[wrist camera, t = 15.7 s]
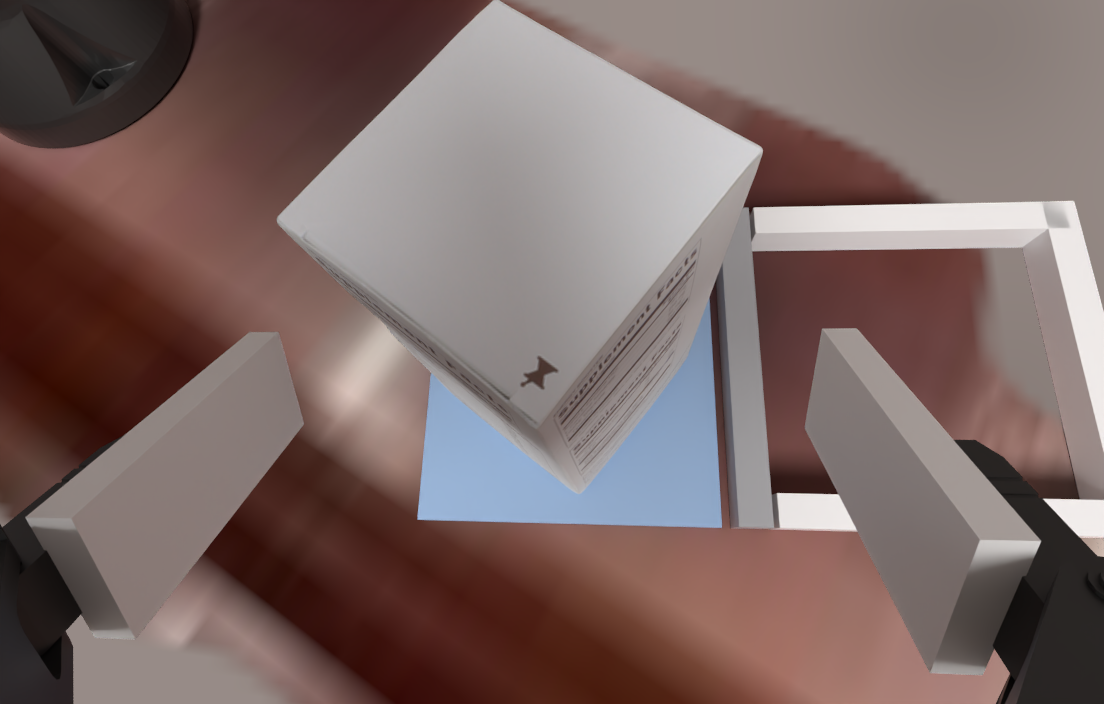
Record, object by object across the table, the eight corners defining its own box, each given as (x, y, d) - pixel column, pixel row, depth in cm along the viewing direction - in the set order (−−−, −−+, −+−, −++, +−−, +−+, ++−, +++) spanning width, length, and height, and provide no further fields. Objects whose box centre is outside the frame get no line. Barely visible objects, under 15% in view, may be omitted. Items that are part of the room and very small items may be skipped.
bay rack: (447, 231, 35) (437, 213, 33) (1046, 221, 32) (1074, 201, 30) (421, 520, 30) (408, 518, 28) (1124, 538, 27) (1163, 538, 25)
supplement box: (693, 355, 31) (787, 148, 15) (581, 501, 29) (549, 445, 13) (547, 253, 33) (492, -18, 17) (436, 382, 31) (260, 214, 15)
